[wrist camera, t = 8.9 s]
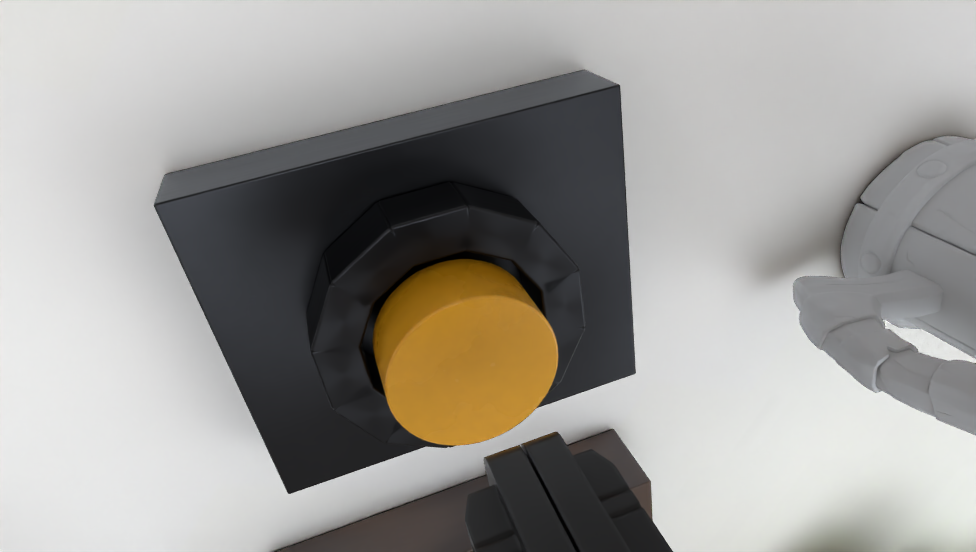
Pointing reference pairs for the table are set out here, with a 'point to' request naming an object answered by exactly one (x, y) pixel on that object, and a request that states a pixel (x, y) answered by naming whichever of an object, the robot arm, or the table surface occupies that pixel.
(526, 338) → the button
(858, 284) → the mug
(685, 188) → the table surface
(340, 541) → the dial panel
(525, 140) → the button housing
